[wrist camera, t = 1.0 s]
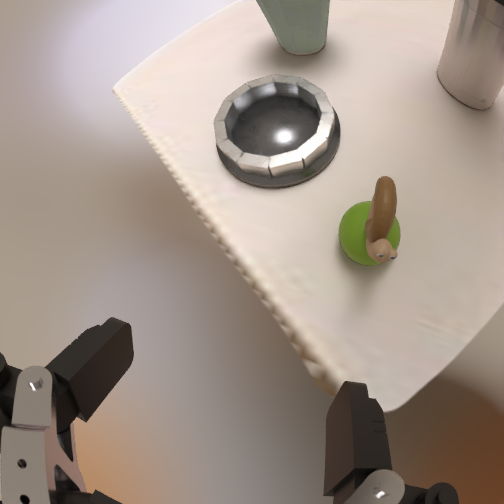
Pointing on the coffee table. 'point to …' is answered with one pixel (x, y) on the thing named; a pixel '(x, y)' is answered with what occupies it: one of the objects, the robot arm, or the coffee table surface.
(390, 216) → the snail figurine
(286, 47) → the disposable coffee cup
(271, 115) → the collar base
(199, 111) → the coffee table surface
